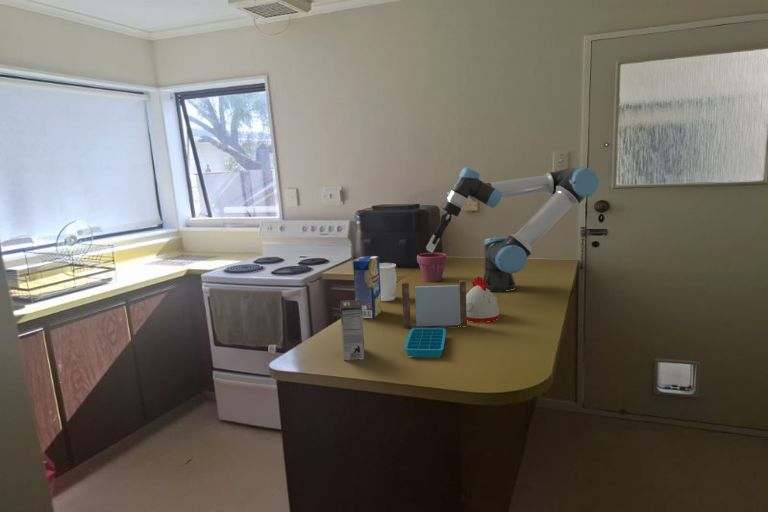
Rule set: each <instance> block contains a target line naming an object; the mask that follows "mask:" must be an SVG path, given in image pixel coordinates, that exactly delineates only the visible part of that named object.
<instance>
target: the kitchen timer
mask: <svg viewBox="0 0 768 512" xmlns="http://www.w3.org/2000/svg"><path fill="white" fill-rule="evenodd" d="M482 279H483V277H480V276H477V277H476V278H474V279H473V280H474V281H471V285H472V288H470V290H469V291H468V292H466V312H467V320H468V321H473V322H472V323H476V322H486V323H488V322H487V321H492V322H494V321H493V320H496V319H498V318H499V319H500V309H499V305H498V301H499V300H498V298H497V296H495V295H494V294H493V292H490V291H489V290H488V289H487V285H488V283H485V279H483V280H482ZM499 319H498V320H499ZM468 321H467V322H468ZM496 321H497V320H496Z"/></svg>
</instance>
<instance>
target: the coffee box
mask: <svg viewBox="0 0 768 512" xmlns="http://www.w3.org/2000/svg"><path fill="white" fill-rule="evenodd" d="M339 302H340V303H339V305H340V324H341V326H340V327H341V338H342V340H341V341H342V350H343V351H342V352H343V361H344V360H346V361H348V360H347V359H359V358H365V338H364V319H363V316H362V305H361V300H355V299H347V300H340V301H339Z"/></svg>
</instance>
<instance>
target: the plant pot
mask: <svg viewBox="0 0 768 512" xmlns="http://www.w3.org/2000/svg"><path fill="white" fill-rule="evenodd" d="M416 262H417V264H419V265H418V266H419V269H420V273H421V277H422V281H423V282H427V283H437V282H436V281H438V282H440V280H441V279H442V278H443V274H444V268H445V263H447V254H446V253H443V252H433V253H432V252H424V253H419V254H417V256H416ZM441 281H442V280H441Z"/></svg>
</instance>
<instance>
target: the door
mask: <svg viewBox="0 0 768 512" xmlns="http://www.w3.org/2000/svg"><path fill="white" fill-rule="evenodd" d="M414 290H415V291H414V293H415V294H414V295H415V297H414V298H415V299H414V300H415V318H416V319H415V321H416V324H415V325H416V326H448V325H460V284H459V285H457V284H454V285H453V284H452V285H451V284H450V285H425V286H424V285H423V286H422V285H420V286H419V285H418V286H414Z"/></svg>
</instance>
